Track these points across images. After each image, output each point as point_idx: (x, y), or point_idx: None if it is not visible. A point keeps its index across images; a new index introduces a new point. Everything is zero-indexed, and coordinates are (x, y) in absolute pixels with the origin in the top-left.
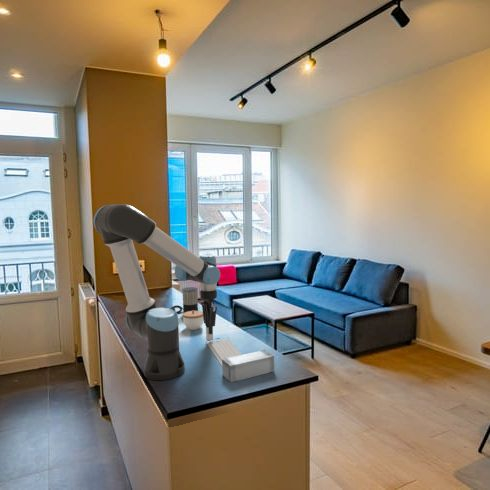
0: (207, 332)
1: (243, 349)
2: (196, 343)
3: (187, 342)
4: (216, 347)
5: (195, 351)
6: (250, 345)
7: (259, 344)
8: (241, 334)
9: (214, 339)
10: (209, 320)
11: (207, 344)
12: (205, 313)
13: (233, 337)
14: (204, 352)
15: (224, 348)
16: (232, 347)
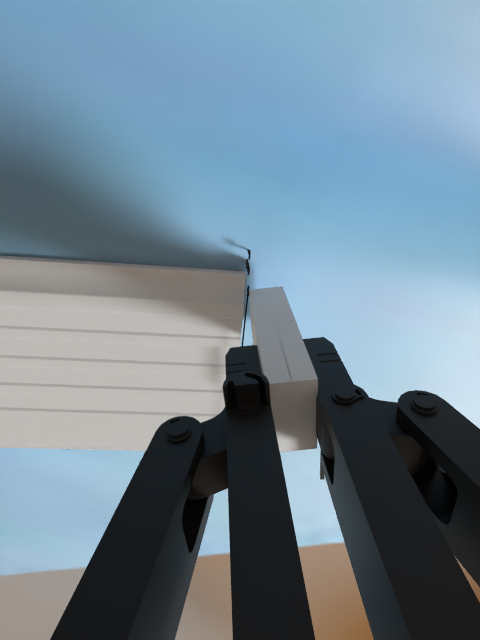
0: (258, 339)
1: (18, 471)
2: (320, 176)
3: (413, 79)
4: (68, 319)
5: (70, 84)
6: (86, 519)
7: (88, 557)
8: (319, 527)
9: None
10: (164, 522)
11: (225, 271)
12: (453, 628)
13: (291, 479)
14: (13, 178)
15: (23, 371)
16: (28, 427)
